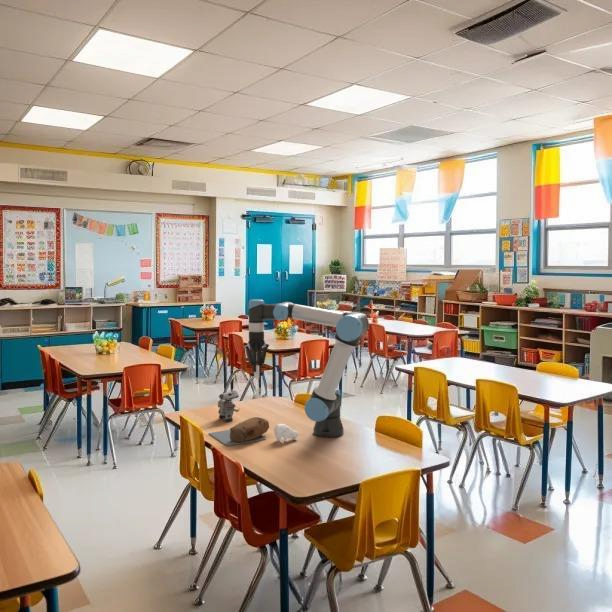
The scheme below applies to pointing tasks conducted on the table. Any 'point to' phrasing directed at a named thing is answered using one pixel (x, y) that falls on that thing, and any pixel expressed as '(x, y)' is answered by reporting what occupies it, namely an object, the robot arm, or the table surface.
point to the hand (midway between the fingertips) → (256, 378)
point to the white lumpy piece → (284, 432)
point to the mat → (225, 438)
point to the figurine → (227, 405)
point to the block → (249, 429)
